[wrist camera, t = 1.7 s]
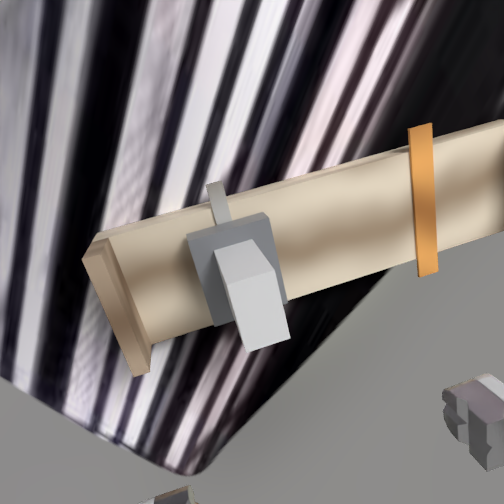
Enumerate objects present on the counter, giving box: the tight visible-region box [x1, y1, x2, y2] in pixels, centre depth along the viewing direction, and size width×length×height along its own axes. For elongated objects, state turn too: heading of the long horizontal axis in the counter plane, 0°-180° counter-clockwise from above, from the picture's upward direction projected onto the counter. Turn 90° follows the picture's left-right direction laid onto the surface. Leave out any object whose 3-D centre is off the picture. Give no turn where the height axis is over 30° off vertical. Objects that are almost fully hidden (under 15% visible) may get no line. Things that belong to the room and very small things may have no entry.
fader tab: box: [186, 212, 290, 353], centre depth 22 cm, size 6×5×6 cm
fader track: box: [82, 120, 504, 377], centre depth 25 cm, size 11×30×5 cm, turn 103°
